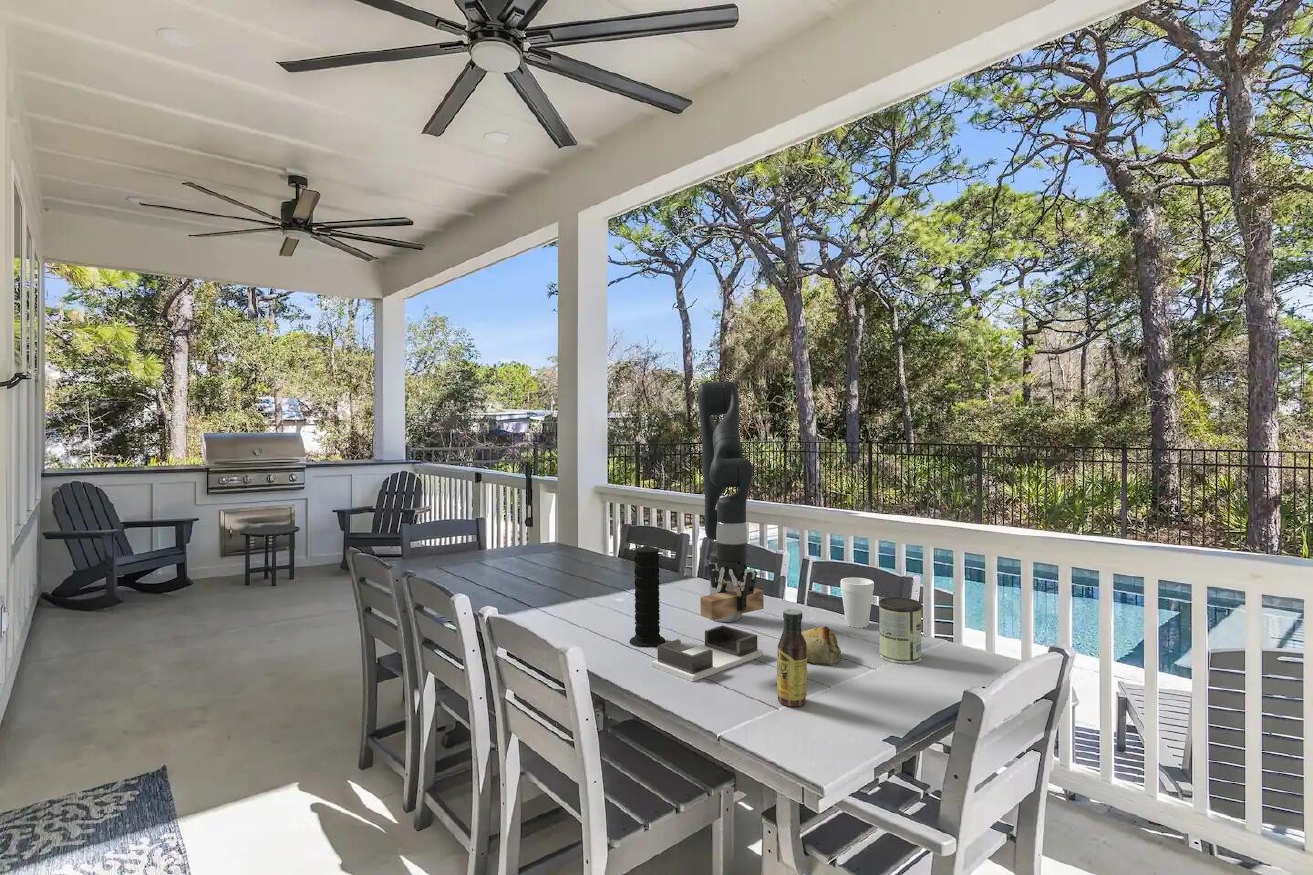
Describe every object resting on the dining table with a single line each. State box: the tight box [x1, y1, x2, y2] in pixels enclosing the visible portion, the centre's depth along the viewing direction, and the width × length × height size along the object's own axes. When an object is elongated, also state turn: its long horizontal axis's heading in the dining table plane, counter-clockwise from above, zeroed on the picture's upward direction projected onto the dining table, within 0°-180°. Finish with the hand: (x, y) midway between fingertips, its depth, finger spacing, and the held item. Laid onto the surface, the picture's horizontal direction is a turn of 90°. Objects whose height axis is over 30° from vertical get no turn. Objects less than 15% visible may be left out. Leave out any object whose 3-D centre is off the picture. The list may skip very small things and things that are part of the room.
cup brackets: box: [657, 624, 758, 674], centre depth 173 cm, size 24×12×4 cm, turn 133°
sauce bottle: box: [776, 608, 808, 708], centre depth 147 cm, size 7×6×20 cm
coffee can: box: [878, 596, 923, 665], centre depth 175 cm, size 10×10×14 cm
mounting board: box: [651, 643, 764, 682], centre depth 173 cm, size 26×14×1 cm, turn 133°
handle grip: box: [629, 545, 667, 648], centre depth 188 cm, size 10×26×10 cm
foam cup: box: [840, 577, 875, 629], centre depth 202 cm, size 10×9×13 cm
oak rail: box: [699, 587, 765, 621], centre depth 168 cm, size 16×4×4 cm, turn 122°
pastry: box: [801, 626, 842, 666], centre depth 176 cm, size 14×12×8 cm
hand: (732, 608), depth 168 cm, fingers closed on oak rail, 5 cm apart
